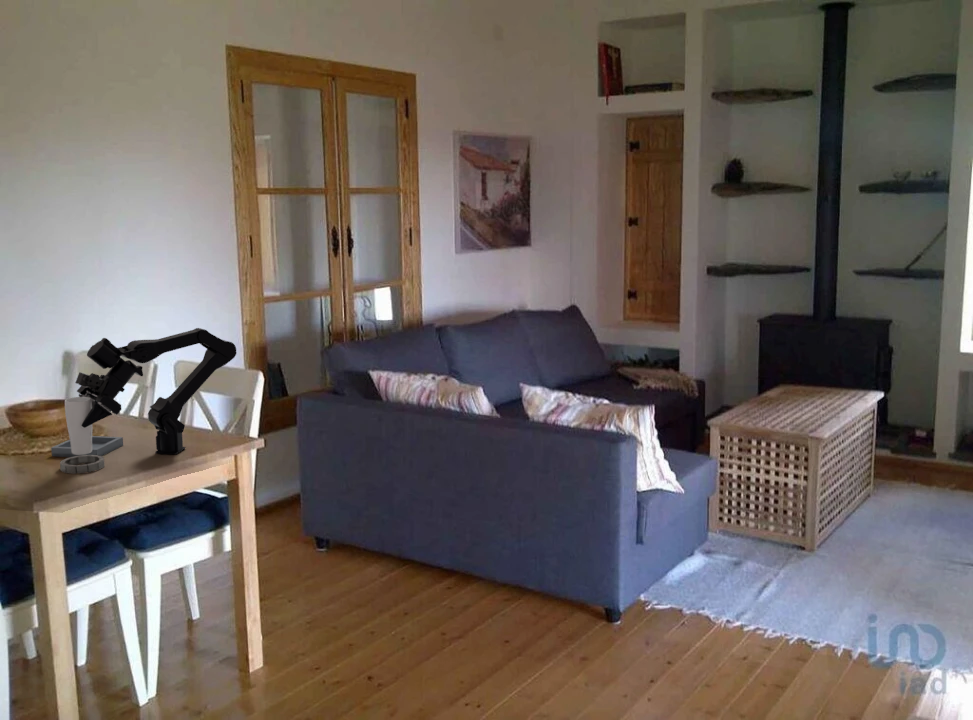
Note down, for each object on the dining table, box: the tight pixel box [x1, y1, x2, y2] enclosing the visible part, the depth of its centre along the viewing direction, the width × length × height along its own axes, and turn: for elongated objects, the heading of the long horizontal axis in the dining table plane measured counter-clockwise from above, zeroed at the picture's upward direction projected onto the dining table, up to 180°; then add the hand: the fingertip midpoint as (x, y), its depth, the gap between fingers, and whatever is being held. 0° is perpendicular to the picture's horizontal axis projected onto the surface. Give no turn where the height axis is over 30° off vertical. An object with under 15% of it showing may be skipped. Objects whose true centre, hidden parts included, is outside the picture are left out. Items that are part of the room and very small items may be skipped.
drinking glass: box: [64, 396, 93, 455], centre depth 257 cm, size 7×7×15 cm
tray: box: [50, 435, 124, 458], centre depth 275 cm, size 14×14×2 cm
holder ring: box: [59, 455, 105, 475], centre depth 259 cm, size 11×11×2 cm
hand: (78, 424), depth 256 cm, fingers closed on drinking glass, 7 cm apart
